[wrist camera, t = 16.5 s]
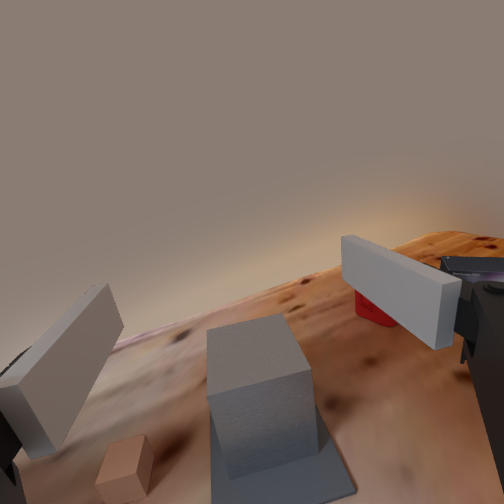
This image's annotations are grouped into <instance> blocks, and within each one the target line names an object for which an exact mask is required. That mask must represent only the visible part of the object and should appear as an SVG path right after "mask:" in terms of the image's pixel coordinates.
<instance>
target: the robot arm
mask: <svg viewBox="0 0 504 504" xmlns="http://www.w3.org/2000/svg"><path fill="white" fill-rule="evenodd" d="M341 255H342V279H343V280H344V281H345V282H347V283H348V284H349V285H350V286H352V287H353V288H354V289H356V290H357V291H358V292H360V293H361V294H362V295H363V296H365V297H366V298H367V299H369V300H370V301H371V302H372V303H374V304H375V305H376V306H378V307H379V308H380V309H381V310H383V311H384V312H385V313H387V314H388V315H389V316H390V317H392V318H393V319H394V320H396V321H397V322H398V323H400V324H401V325H402V326H403V327H405V328H406V329H407V330H409V331H410V332H411V333H412V334H414V335H415V336H416V337H418V338H419V339H420V340H421V341H423V342H424V343H425V344H427V345H428V346H429V347H430V348H432V349H433V350H438V349H442V348H446V347H449V346H452V345H453V338H454V331H455V332H456V333H458V334H459V335H461V336H463V337H464V342H463V348H462V354H461V360H460V363H461V364H464V362H465V360H467V363H468V367H469V371H470V374H471V378H472V381H473V385H474V389H475V392H476V396H477V399H478V403H479V406H480V410H481V414H482V417H483V421H484V424H485V428H486V432H487V435H488V439H489V442H490V446H491V450H492V453H493V457H494V460H495V464H496V468H497V471H498V475H499V478H500V482H501V485H502V489H503V493H504V282H499V281H478V282H475V283H472V282H470V281H467V280H465V279H462V278H460V277H457V276H455V275H452V274H450V273H448V272H446V273H445V271H443V270H440V269H436V268H435V267H433V266H431V265H428V264H426V263H421V262H418V261H416V260H413V259H411V258H408V257H406V256H404V255H401V254H399V253H396V252H394V251H392V250H389V249H387V248H384V247H382V246H379V245H377V244H374V243H372V242H370V241H367V240H365V239H363V238H360V237H358V236H355V235H349V236H343V237H341ZM123 328H124V325H123V322H122V320H121V317H120V314H119V312H118V309H117V306H116V303H115V301H114V298H113V295H112V293H111V290H110V287H109V285H108V283H105V284H99V285H94V286H92V287H91V288H90V289H89V290H88V291H87V292H86V293H85V294H84V295H83V296H82V297H81V298H80V299H79V300H78V301H77V302H76V303H75V304H74V305H73V306H72V307H71V308H70V309H69V310H68V311H67V312H66V313H65V314H64V315H63V316H62V317H61V318H60V319H59V320H58V321H57V322H56V323H55V324H54V325H53V326H52V327H51V328H50V329H48V331H47V332H45V333H44V334H43V335H42V337H41V338H40V339H39V340H37V342H35V343H34V344H33V345H32V346H31V347H30V348H28V349H27V350H25V351H24V352H22V353H21V354H20V355H19V356H17V357H16V358H15V359H14V360H13V361H12V362H11V363H10V364H9V366H8V367H6V368H5V369H4V370H3V371H2V372H1V373H0V504H27V503H26V499H25V495H24V491H23V487H22V483H21V479H20V475H19V470H18V468H17V466H16V465H15V463H14V462H13V459H14V457H15V456H16V454H17V453H18V451H19V450H20V448H21V447H23V449H24V450H25V452H26V453H27V455H28V457H29V458H30V460H32V459H35V458H39V457H43V456H46V455H50V454H54V453H58V451H59V449H60V447H61V445H62V443H63V441H64V439H65V438H66V436H67V434H68V432H69V430H70V428H71V426H72V424H73V422H74V421H75V419H76V417H77V415H78V413H79V411H80V409H81V407H82V405H83V404H84V402H85V400H86V398H87V396H88V394H89V392H90V390H91V388H92V387H93V385H94V383H95V381H96V379H97V377H98V375H99V373H100V371H101V370H102V368H103V366H104V364H105V362H106V360H107V358H108V356H109V354H110V353H111V351H112V349H113V347H114V345H115V343H116V341H117V339H118V337H119V336H120V334H121V332H122V330H123Z"/></svg>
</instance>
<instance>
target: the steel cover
mask: <svg viewBox="0 0 504 504" xmlns="http://www.w3.org/2000/svg"><path fill="white" fill-rule="evenodd" d="M207 399H208V403H209V406H210V410H211V413H212V417H213V421H214V424H215V428H216V432H217V435H218V439H219V443H220V446H221V450H222V453H223V457H224V461H225V464H226V468H227V472H228V475H229V479H230V481H231V480H234V479H237V478H241V477H244V476H247V475H250V474H254V473H257V472H260V471H264V470H267V469H270V468H273V467H277V466H280V465H283V464H287V463H290V462H293V461H297V460H300V459H303V458H306V457H310V456H313V455H316V454H319V448H318V436H317V425H316V413H315V402H314V390H313V379H312V369H311V367H310V365H309V363H308V361H307V359H306V357H305V355H304V354H303V352H302V350H301V348H300V346H299V344H298V342H297V341H296V339H295V337H294V335H293V333H292V331H291V329H290V327H289V326H288V324H287V322H286V320H285V318H284V316H283V314H282V313H280V314H275V315H271V316H267V317H262V318H258V319H254V320H249V321H245V322H241V323H236V324H232V325H227V326H223V327H219V328H214V329H210V330H207Z"/></svg>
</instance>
